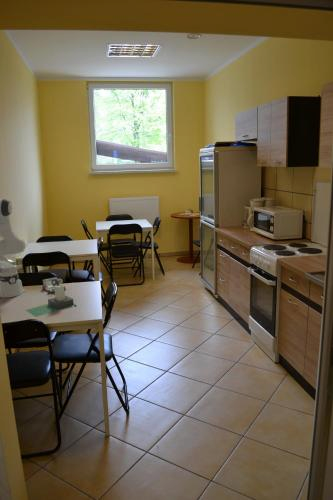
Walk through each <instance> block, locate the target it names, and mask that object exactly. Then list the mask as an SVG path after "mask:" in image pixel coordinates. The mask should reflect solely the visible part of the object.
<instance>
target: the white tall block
mask: <svg viewBox="0 0 333 500" xmlns="http://www.w3.org/2000/svg"><path fill="white" fill-rule="evenodd" d="M64 286H65V285H63V284H60V285H59V282H58V280H57V286H54V290H55V291H54V298H55V299H56V301H57V302H59V301H63V300H65V295H66V293H65V291H66V290H65V291H64Z"/></svg>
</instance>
